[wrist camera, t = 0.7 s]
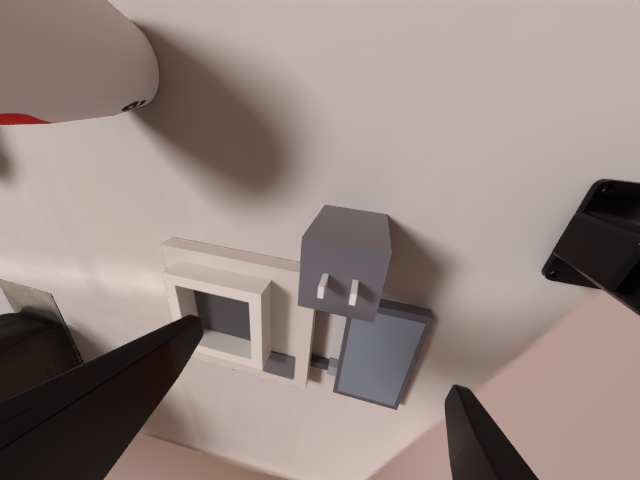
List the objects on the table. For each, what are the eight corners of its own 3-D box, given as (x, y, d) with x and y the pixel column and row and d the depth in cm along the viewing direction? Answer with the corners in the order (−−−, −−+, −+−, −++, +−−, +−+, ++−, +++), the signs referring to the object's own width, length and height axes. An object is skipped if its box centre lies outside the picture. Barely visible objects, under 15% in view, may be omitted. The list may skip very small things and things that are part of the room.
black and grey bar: (339, 360, 24) (338, 368, 23) (338, 368, 24) (337, 376, 23) (312, 353, 24) (310, 360, 23) (311, 361, 25) (309, 369, 24)
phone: (430, 309, 19) (433, 319, 18) (396, 399, 24) (396, 410, 23) (351, 292, 20) (350, 301, 19) (334, 382, 25) (332, 392, 24)
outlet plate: (321, 266, 20) (310, 291, 16) (309, 375, 26) (299, 409, 22) (173, 237, 22) (139, 254, 19) (194, 344, 28) (171, 371, 25)
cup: (76, 95, 18) (-216, 61, 9) (72, -45, 14) (-427, -333, 5) (169, 149, 18) (-29, 166, 9) (190, 23, 14) (-108, -147, 6)
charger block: (387, 214, 17) (393, 265, 10) (375, 268, 19) (373, 339, 12) (325, 204, 17) (294, 247, 11) (319, 257, 19) (291, 320, 13)
